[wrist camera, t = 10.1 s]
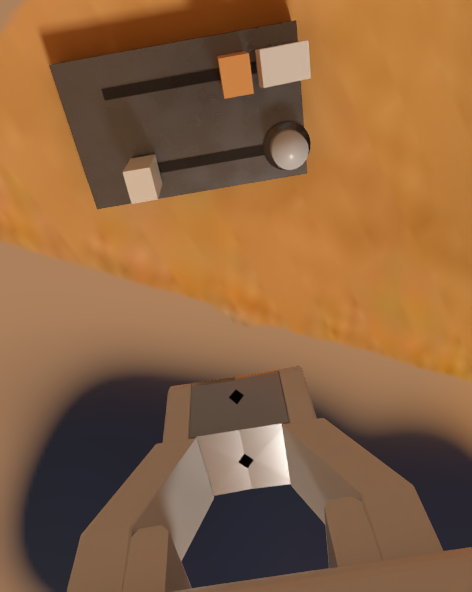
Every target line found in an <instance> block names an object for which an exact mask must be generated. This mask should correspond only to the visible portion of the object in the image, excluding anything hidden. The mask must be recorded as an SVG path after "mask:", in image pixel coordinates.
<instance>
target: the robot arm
mask: <svg viewBox="0 0 472 592" xmlns="http://www.w3.org/2000/svg"><path fill="white" fill-rule="evenodd" d="M286 484H291V486H292V487H293V488H294V489H295V490H296V492H297V493H298V494H299V495H300V496H301V497H302V498H303V500H304V501H305V502H306V503H307V504H308V505H309V506H310V508H311V509H312V510H313V511H314V512H315V513H316V514H317V515H318V517H319V518H320V519H321V520H322V521H323V522H324V524H325V525H326V536H327V548H328V560H329V568H328V569H321V570H314V571H308V572H301V573H294V574H287V575H281V576H274V577H267V578H260V579H254V580H246V581H240V582H233V583H226V584H220V585H213V586H205V587H199V588H191V585H190V583H189V580H188V578H187V575H186V573H185V570H184V568H183V565H182V563H181V561H182V559H183V557H184V555H185V553H186V551H187V549H188V547H189V545H190V543H191V541H192V539H193V538H194V536H195V533H196V532H197V530H198V528H199V526H200V524H201V522H202V520H203V518H204V516H205V514H206V512H207V510H208V509H209V507H210V504H211V503H212V501H213V499H214V497H213V496H214V495H220V494H225V493H231V492H236V491H241V490H247V489H252V488H262V487H270V486H278V485H286ZM67 592H472V547H470V548H464V549H457V550H450V551H443V549H442V547H441V545H440V542H439V540H438V538H437V536H436V534H435V532H434V529H433V527H432V525H431V523H430V521H429V519H428V517H427V514H426V512H425V510H424V508H423V506H422V503H421V501H420V499H419V497H418V495H417V493H416V490H415V488H414V486H413V485H412V484H410V483H409V482H408V481H406V480H405V479H403V477H401V476H400V475H399V474H397V473H396V472H395V471H393V470H392V469H390V468H389V467H388V466H386V465H385V464H384V463H382V462H381V461H380V460H379V459H377V458H376V457H374V456H373V455H372V454H371V453H369V452H368V451H366V450H365V449H364V448H362V447H361V446H360V445H359V444H357V443H356V442H355V441H353V440H352V439H351V438H349V437H348V436H347V435H345V434H344V433H343V432H341V431H340V430H339V429H337V428H336V427H335V426H333V425H332V424H331V423H329V422H328V421H327V420H325V419H324V418H321V419H317V418H316V415H315V412H314V408H313V405H312V401H311V398H310V395H309V391H308V387H307V384H306V381H305V377H304V374H303V370H302V368H301V367H300V366H296V367H290V368H285V369H279V371H278V370H276V371H270V372H264V373H258V374H252V375H246V376H240V377H234V378H226V379H219V380H212V381H205V382H197V383H193V384H186V385H179V386H171V387H170V389H169V391H168V399H167V408H166V418H165V428H164V436H163V443H160V444H156V445H155V446H154V447H153V449H152V450H151V451H150V452H149V454H148V455H147V456H146V457H145V458H144V460H143V461H142V462H141V463H140V464H139V466H138V467H137V468H136V469H135V470H134V472H133V473H132V474H131V475H130V476H129V478H128V479H127V480H126V481H125V482H124V484H123V485H122V486H121V488H120V489H119V490H118V491H117V492H116V493H115V495H114V496H113V497H112V498H111V499H110V501H109V502H108V503H107V504H106V506H105V507H104V508H103V509H102V510H101V512H100V513H99V514H98V515H97V517H96V518H95V519H94V520H93V521H92V522H91V524H90V525H89V526H88V527H87V529H86V530H85V531H84V532H83V533H82V535H81V537H80V542H79V545H78V549H77V553H76V557H75V561H74V565H73V569H72V573H71V577H70V581H69V585H68V589H67Z"/></svg>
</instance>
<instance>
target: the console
mask: <svg viewBox="0 0 472 592" xmlns="http://www.w3.org/2000/svg"><path fill="white" fill-rule="evenodd" d="M294 42H298V39H297V25H296V20H295V21H289V22H284V23H278V24H273V25H267V26H262V27H256V28H251V29H245V30H240V31H234V32H228V33H223V34H217V35H212V36H206V37H201V38H195V39H190V40H184V41H179V42H173V43H168V44H162V45H157V46H151V47H146V48H140V49H135V50H129V51H124V52H118V53H113V54H107V55H102V56H96V57H91V58H85V59H79V60H74V61H68V62H63V63H57V64H52V65H49V66H50V69H51V72H52V75H53V78H54V81H55V84H56V87H57V90H58V93H59V96H60V99H61V102H62V105H63V108H64V111H65V114H66V117H67V120H68V123H69V126H70V129H71V132H72V135H73V138H74V141H75V144H76V147H77V150H78V153H79V156H80V159H81V162H82V165H83V168H84V171H85V174H86V177H87V180H88V183H89V186H90V189H91V192H92V195H93V198H94V201H95V204H96V207H97V209H101V208H107V207H113V206H119V205H124V204H130V203H131V200H130V197H129V193H128V190H127V186H126V183H125V179H124V176H123V170H124V169H125V167H126V165H127V164H128V162H129V160H130V159H131V158H137V157H142V156H148V155H154V154H155V155H156V159H157V163H158V168H159V172H160V176H161V180H162V187H161V190H160V194H159V197H158V199H160V198H165V197H171V196H177V195H183V194H189V193H195V192H201V191H206V190H212V189H218V188H224V187H230V186H236V185H241V184H247V183H253V182H259V181H265V180H271V179H277V178H282V177H288V176H294V175H300V174H306V173H307V165H306V161H305V162H304V163H303V164H302V165H301V166H300V167H298V168H296V169H293V170H286V169H283V168H281V167H279V166H278V165H277V164H276V163H275V161H274V159H273V157H272V155H271V153H270V142H271V139H272V137H273V136H274V135H275V134H276V133H277V132H278V131H280V130H282V129H285V128H291V129H294V130H296V131H298V132H299V133H300V134H301V135H302V136H303V137H304V138H305V140H306V141H307V143H308V148H309V150H310V138H309V135H308V133H307V131H306V130H305V128H304V123H303V109H302V95H301V81H295V82H291V83H286V84H281V85H276V86H271V87H266V88H261V87H259V80H258V71H257V62H256V54H255V50H257V49H262V48H267V47H273V46H278V45H283V44H288V43H294ZM242 51H245V52H247V53H249V58H250V66H251V74H252V82H253V90H254V94H249V95H243V96H237V97H232V98H226V99H224V95H223V91H222V85H221V79H220V72H219V66H218V59H217V56H220V55H226V54H231V53H237V52H242ZM308 154H309V152H308Z"/></svg>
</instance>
